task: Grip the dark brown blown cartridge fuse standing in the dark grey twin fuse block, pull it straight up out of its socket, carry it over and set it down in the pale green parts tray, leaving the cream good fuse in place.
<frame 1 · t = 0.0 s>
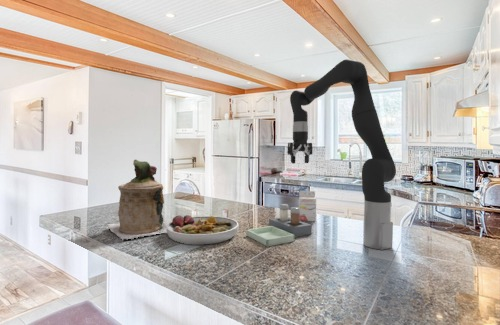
hand: (300, 163, 150), 29 cm above the worktop, fingers open, 8 cm apart
ink cartridge box: (307, 220, 153), on the worktop
parts tray: (269, 238, 122), on the worktop
blown fuse: (295, 232, 130), resting in fuse block
bowl: (203, 236, 126), on the worktop
fuse block: (289, 230, 133), on the worktop
good fuse: (284, 228, 137), resting in fuse block
cookie jar: (142, 230, 134), on the worktop
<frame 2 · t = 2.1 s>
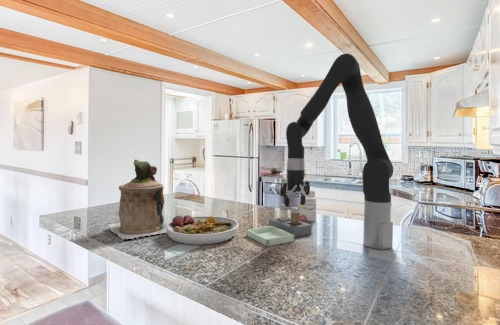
hand: (294, 205, 129), 12 cm above the worktop, fingers open, 8 cm apart
nothing on the worktop moved.
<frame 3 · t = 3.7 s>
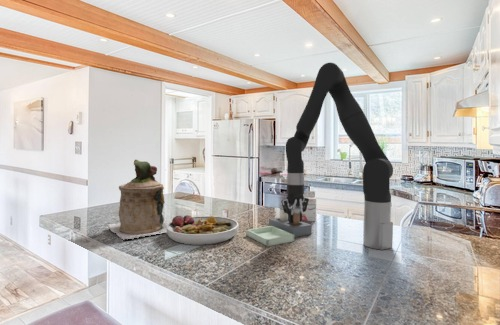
hand: (295, 222, 130), 5 cm above the worktop, fingers closed on blown fuse, 4 cm apart
blown fuse: (295, 232, 130), resting in fuse block, touching gripper
everything else where it was.
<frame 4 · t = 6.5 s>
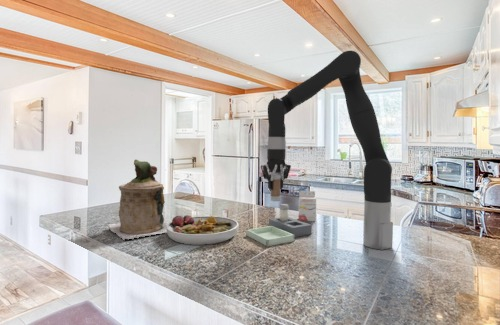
hand: (275, 189, 124), 20 cm above the worktop, fingers closed on blown fuse, 4 cm apart
blown fuse: (275, 200, 124), point 15 cm above the worktop, touching gripper
everything else where it was.
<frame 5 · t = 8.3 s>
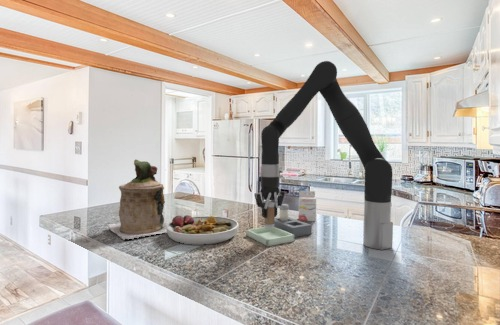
hand: (269, 216, 122), 9 cm above the worktop, fingers closed on blown fuse, 4 cm apart
blown fuse: (269, 228, 122), point 4 cm above the worktop, touching gripper
everything else where it was.
when the fingers open (6 cm above the worktop, at t = 9.5 s): blown fuse stays where it is, resting on parts tray.
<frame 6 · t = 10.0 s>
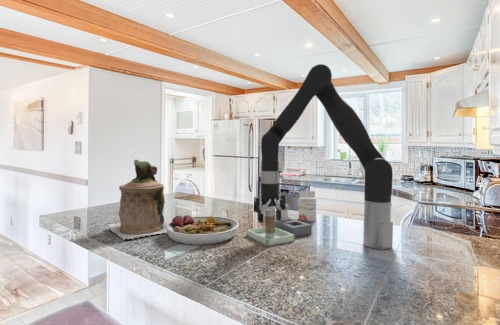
hand: (269, 221, 122), 7 cm above the worktop, fingers open, 8 cm apart
blown fuse: (269, 237, 122), point 1 cm above the worktop, touching parts tray
everything else where it was.
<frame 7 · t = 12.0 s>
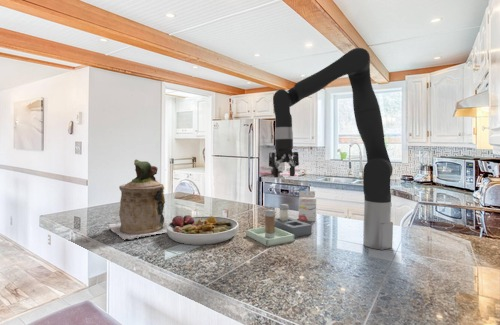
hand: (284, 176, 126), 25 cm above the worktop, fingers open, 8 cm apart
nothing on the worktop moved.
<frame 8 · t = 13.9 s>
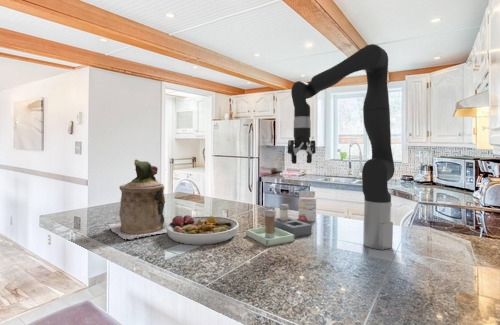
hand: (301, 163, 134), 30 cm above the worktop, fingers open, 8 cm apart
nothing on the worktop moved.
at the end: blown fuse inside the target area on the parts tray (0.1 cm from its centre), point 0.5 cm above the parts tray's base; the gripper is holding nothing; good fuse moved 0.0 cm from its start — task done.
